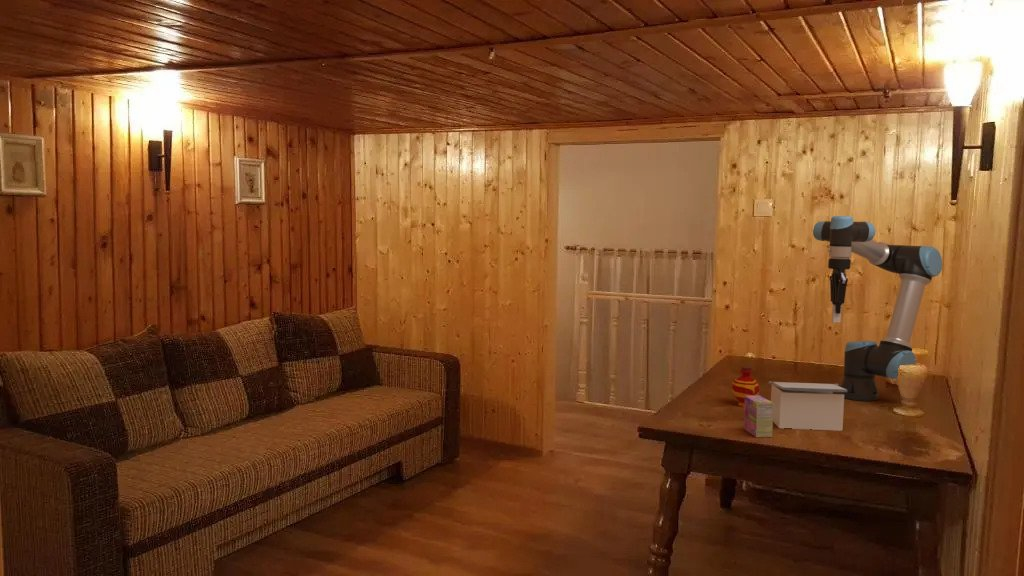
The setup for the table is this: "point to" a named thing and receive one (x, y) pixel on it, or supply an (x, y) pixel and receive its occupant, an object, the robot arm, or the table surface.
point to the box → (758, 416)
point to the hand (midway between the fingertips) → (836, 321)
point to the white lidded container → (807, 409)
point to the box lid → (809, 387)
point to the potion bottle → (745, 386)
